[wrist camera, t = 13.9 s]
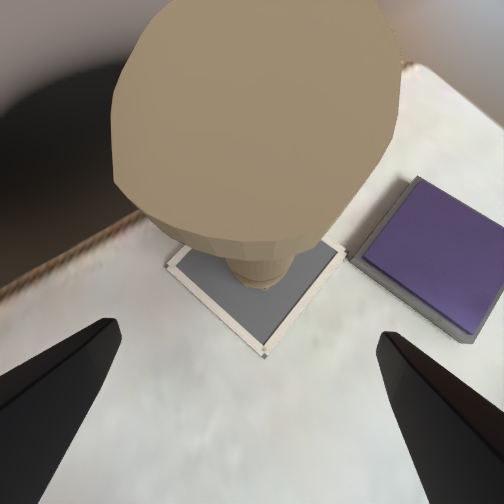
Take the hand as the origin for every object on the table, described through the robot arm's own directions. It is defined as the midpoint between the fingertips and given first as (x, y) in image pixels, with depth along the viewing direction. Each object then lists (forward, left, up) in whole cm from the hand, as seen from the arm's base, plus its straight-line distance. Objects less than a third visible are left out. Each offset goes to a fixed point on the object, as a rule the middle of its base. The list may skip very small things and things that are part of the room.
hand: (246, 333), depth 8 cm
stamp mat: (+4, +3, -10) cm, 11 cm away
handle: (+4, +3, -9) cm, 11 cm away
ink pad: (+13, -7, -10) cm, 18 cm away
